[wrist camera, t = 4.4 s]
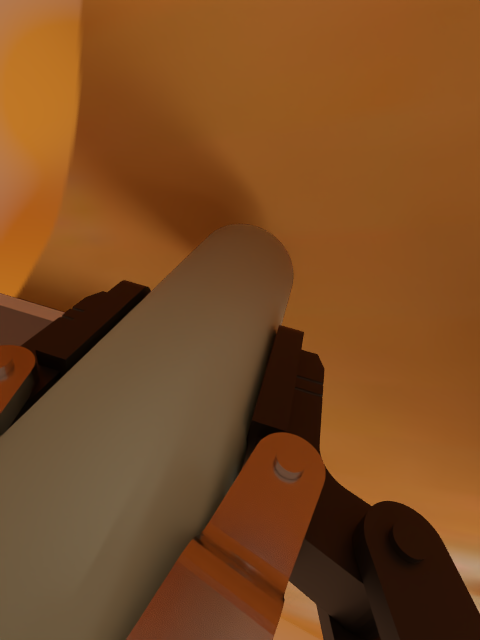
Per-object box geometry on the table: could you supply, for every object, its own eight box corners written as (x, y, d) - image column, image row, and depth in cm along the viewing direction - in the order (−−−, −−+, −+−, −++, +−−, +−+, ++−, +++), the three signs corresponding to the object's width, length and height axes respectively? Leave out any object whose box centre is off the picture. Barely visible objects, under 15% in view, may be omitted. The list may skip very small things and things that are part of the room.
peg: (305, 238, 12) (161, 781, 2) (279, 327, 14) (149, 797, 5) (201, 212, 13) (-287, 577, 3) (191, 302, 15) (-99, 680, 5)
